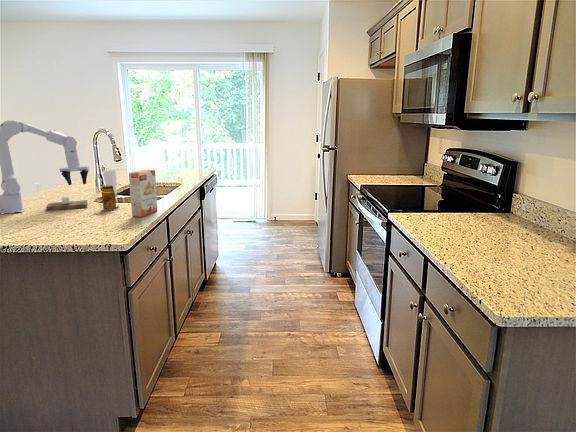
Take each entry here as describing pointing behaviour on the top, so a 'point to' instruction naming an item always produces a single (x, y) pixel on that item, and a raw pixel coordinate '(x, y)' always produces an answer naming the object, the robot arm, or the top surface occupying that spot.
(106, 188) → the condiment
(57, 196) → the top surface
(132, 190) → the cracker box
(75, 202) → the fader board
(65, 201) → the fader tab
